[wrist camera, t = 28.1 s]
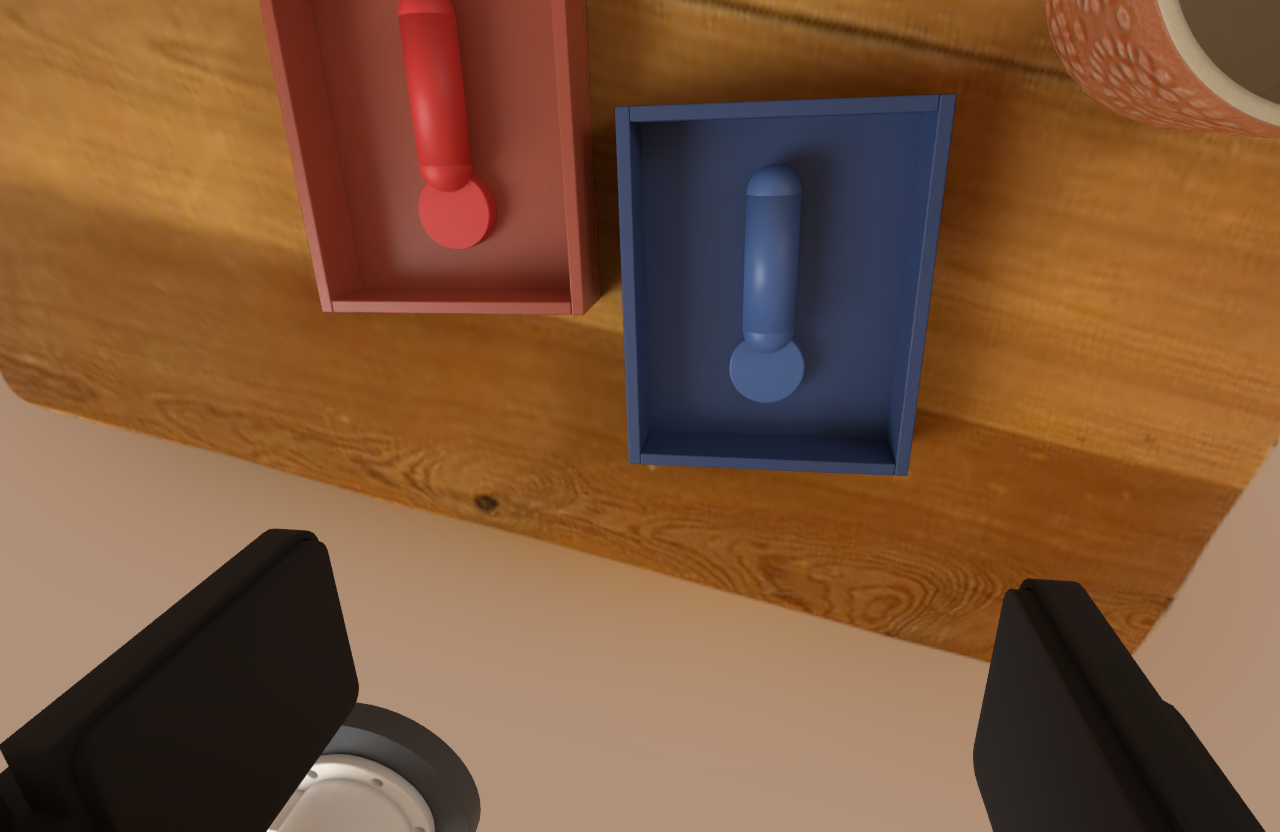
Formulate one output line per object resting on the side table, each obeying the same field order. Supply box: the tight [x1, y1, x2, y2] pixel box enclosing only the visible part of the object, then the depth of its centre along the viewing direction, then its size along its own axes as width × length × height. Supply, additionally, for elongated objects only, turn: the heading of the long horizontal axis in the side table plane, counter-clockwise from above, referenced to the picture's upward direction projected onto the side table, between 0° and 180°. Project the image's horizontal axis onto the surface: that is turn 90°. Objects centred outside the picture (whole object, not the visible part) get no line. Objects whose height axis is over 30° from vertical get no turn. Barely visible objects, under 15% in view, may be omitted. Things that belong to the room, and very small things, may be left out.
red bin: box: [259, 0, 600, 315], centre depth 31 cm, size 13×16×4 cm
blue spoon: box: [729, 164, 805, 403], centre depth 32 cm, size 11×4×2 cm, turn 2°
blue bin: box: [615, 93, 957, 476], centre depth 32 cm, size 13×16×4 cm
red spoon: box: [398, 0, 496, 250], centre depth 31 cm, size 11×4×2 cm, turn 2°
